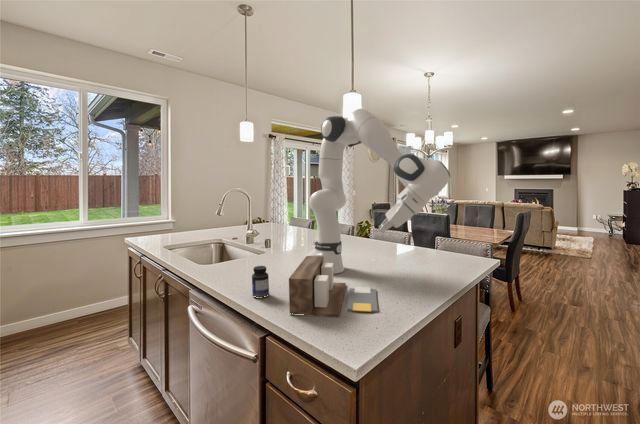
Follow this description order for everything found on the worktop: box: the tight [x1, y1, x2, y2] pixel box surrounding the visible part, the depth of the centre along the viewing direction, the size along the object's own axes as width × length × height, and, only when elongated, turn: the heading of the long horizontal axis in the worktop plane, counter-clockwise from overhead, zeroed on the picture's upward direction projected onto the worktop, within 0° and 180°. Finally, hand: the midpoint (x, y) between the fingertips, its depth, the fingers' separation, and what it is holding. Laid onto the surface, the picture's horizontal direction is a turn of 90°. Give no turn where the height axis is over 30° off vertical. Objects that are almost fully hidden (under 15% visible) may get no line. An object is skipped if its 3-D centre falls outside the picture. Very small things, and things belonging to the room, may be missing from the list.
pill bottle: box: [251, 265, 270, 297], centre depth 114 cm, size 6×6×11 cm
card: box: [346, 286, 378, 313], centre depth 109 cm, size 10×22×1 cm, turn 171°
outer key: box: [314, 275, 329, 308], centre depth 102 cm, size 4×6×9 cm, turn 172°
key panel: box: [288, 255, 346, 318], centre depth 110 cm, size 16×30×12 cm, turn 171°
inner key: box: [321, 263, 335, 290], centre depth 118 cm, size 4×6×9 cm, turn 172°
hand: (380, 230), depth 105 cm, fingers open, 4 cm apart
